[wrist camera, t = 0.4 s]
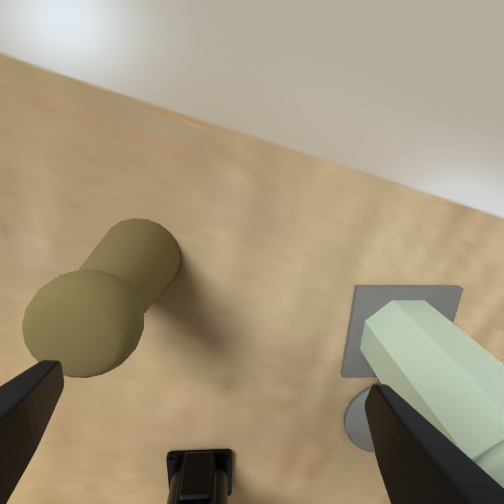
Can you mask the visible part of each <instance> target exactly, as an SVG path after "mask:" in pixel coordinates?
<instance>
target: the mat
mask: <svg viewBox="0 0 504 504" xmlns="http://www.w3.org/2000/svg"><path fill="white" fill-rule="evenodd" d="M462 291H463V288H462V287H460V286H417V285H355V290H354V296H353V302H352V308H351V314H350V320H349V327H348V333H347V339H346V345H345V351H344V357H343V363H342V369H341V375H342V377H377V375H376V374H375V372H374V371H373V369H372V367H371V366H370V364H369V363H368V361H367V359H366V358H365V356H364V355H363V353H362V351H361V350H360V345H361V340H362V335H363V329H364V324H365V321H366V320H367V319H368V318H370V317H371V316H372V315H374V314H375V313H376V312H377V311H379V310H380V309H381V308H383V307H384V306H385V305H387V304H388V303H389V302H390V301H392V300H425V301H426V302H427V303H428V304H430V305H431V306H432V307H433V308H435V309H436V310H437V311H438V312H440V313H441V314H442V315H443V316H445V317H446V318H447V319H448V320H449V321H451V322H452V323H453V321H454V317H455V314H456V311H457V307H458V304H459V301H460V297H461V294H462Z"/></svg>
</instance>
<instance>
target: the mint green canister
mask: <svg viewBox="0 0 504 504" xmlns="http://www.w3.org/2000/svg"><path fill="white" fill-rule="evenodd" d="M360 350H361V351H362V353H363V355H364V356H365V358H366V359H367V361H368V363H369V364H370V366H371V367H372V369H373V371H374V372H375V374H376V375H377V377H378V379H379V380H380V382H381V383H382V384H386V385H388V386H390V387H391V388H392V389H393V390H394V391H395V392H396V393H398V394H399V395H400V396H401V397H402V398H403V399H404V400H405V401H407V402H408V403H409V404H410V405H411V406H412V407H413V408H414V409H416V410H417V411H418V412H419V413H420V414H421V415H422V416H423V417H425V418H426V419H427V420H428V421H429V422H430V423H431V424H432V425H433V426H435V427H436V428H437V429H438V430H439V431H440V432H441V433H442V434H444V435H445V436H446V437H447V438H448V439H449V440H450V441H451V442H453V443H454V444H455V445H456V446H457V447H458V448H459V449H460V450H462V451H463V452H464V453H465V454H466V455H467V456H468V457H469V458H471V459H472V460H473V461H474V462H475V463H476V464H477V465H478V466H480V467H481V468H482V469H483V470H484V471H485V472H486V473H487V474H489V475H490V476H491V477H492V478H493V479H494V480H495V481H496V482H498V483H499V484H500V485H501V486H502V487H503V488H504V364H502V363H501V362H500V361H499V360H497V359H496V358H495V357H494V356H493V355H491V354H490V353H489V352H488V351H486V350H485V349H484V348H483V347H481V346H480V345H479V344H478V343H477V342H475V341H474V340H473V339H472V338H470V337H469V336H468V335H467V334H465V333H464V332H463V331H462V330H461V329H459V328H458V327H457V326H456V325H454V324H453V323H452V322H451V321H449V320H448V319H447V318H446V317H445V316H443V315H442V314H441V313H440V312H438V311H437V310H436V309H435V308H433V307H432V306H431V305H430V304H428V303H427V302H426V301H425V300H392V301H390V302H389V303H388V304H387V305H385V306H384V307H383V308H381V309H380V310H379V311H377V312H376V313H375V314H374V315H372V316H371V317H370V318H368V319H367V320H366V321H365V324H364V329H363V335H362V340H361V345H360Z"/></svg>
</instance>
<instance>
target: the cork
mask: <svg viewBox="0 0 504 504" xmlns="http://www.w3.org/2000/svg"><path fill="white" fill-rule="evenodd" d="M180 260H181V253H180V250H179V247H178V244H177V242H176V240H175V239H174V237H173V236H172V235H171V233H170V232H169V231H168V230H166V229H165V228H164V227H162V226H161V225H160V224H158V223H155V222H152V221H150V220H147V219H129V220H125V221H121V222H120V223H118V224H117V225H115V226H113V227H112V228H111V229H110V230H109V231H108V233H107V234H106V235H105V237H104V238H103V239H102V240H101V242H100V243H99V244H98V246H97V247H96V248H95V249H94V251H93V252H92V253H91V255H90V256H89V257H88V258H87V260H86V261H85V262H84V264H83V265H82V266H81V267H80V269H79V270H78V271H75V272H71V273H67V274H63V275H60V276H59V277H57V278H56V279H54V280H52V281H51V282H49V283H48V284H46V285H45V286H43V287H42V288H41V289H39V291H38V292H37V293H36V295H35V296H34V297H33V299H32V300H31V302H30V303H29V305H28V306H27V308H26V310H25V315H24V319H23V329H22V330H23V336H24V341H25V344H26V346H27V348H28V349H29V351H30V353H31V354H32V356H33V357H34V358H35V359H36V360H37V361H39V362H40V361H42V360H58V361H60V362H61V364H62V370H63V375H65V376H69V377H80V378H88V377H93V376H97V375H101V374H104V373H106V372H109V371H110V370H112V369H114V368H116V367H118V366H119V365H121V364H122V363H123V362H124V361H125V360H126V359H127V358H128V357H129V356H130V354H131V353H132V352H133V351H134V350H135V349H136V347H137V345H138V342H139V340H140V337H141V335H142V332H143V329H144V313H145V312H146V311H147V309H148V308H149V307H150V306H151V305H152V303H153V302H154V301H155V300H156V299H157V298H158V296H159V295H160V294H161V293H162V292H163V290H164V289H165V288H166V287H167V286H168V284H169V283H170V282H171V281H172V280H173V278H174V277H175V276H176V275H177V272H178V270H179V267H180Z"/></svg>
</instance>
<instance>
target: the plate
mask: <svg viewBox="0 0 504 504" xmlns="http://www.w3.org/2000/svg"><path fill="white" fill-rule="evenodd" d="M377 384H382V383H381V382H380V383H377ZM371 387H372V386H370V387H368V388H366V389H365V390H363V391H362V392H361V393H359V394H358V395H357V396H356V397H355V398H354V399H353V400H352V401H351V403H350V404H349V406H348V408H347V410H346V412H345V416H344V426H345V429H346V432H347V434H348V437H349V439H350V440H351V441H352V442H353V443H354V444H355V445H356V446H357V447H359V448H361V449H363V450H366V451H369V452H375V450H374V446H373V442H372V438H371V434H370V430H369V425H368V421H367V417H366V413H365V407H364V406H365V400H366V398H367V396H368V393H369V391H370V389H371Z"/></svg>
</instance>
